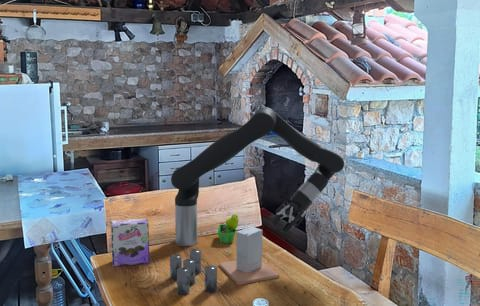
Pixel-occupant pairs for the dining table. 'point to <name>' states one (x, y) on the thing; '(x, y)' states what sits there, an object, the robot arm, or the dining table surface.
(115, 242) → the candy box
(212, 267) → the posts
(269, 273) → the terracotta tile
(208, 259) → the dining table surface
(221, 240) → the potted cactus
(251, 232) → the skincare box
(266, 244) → the dining table surface
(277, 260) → the dining table surface
